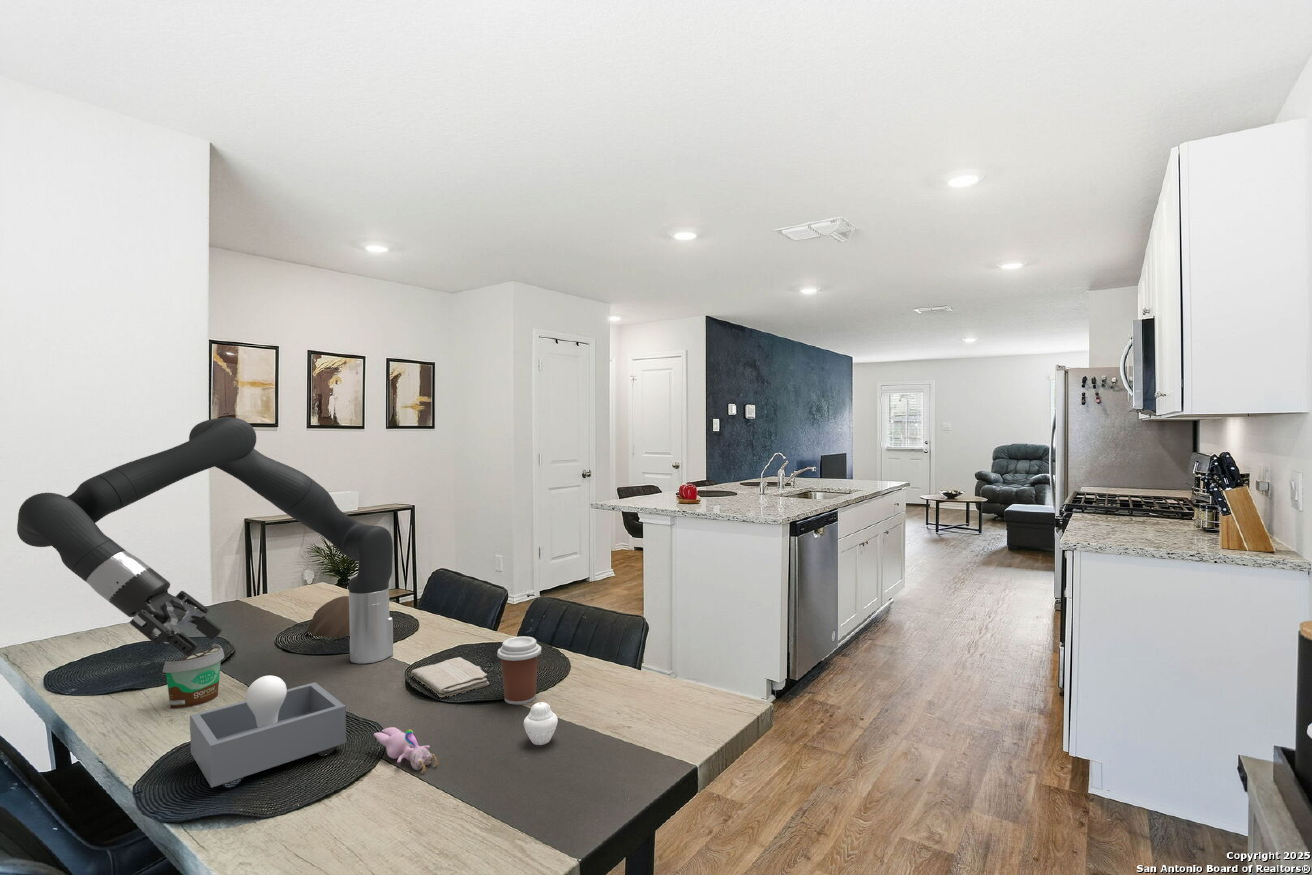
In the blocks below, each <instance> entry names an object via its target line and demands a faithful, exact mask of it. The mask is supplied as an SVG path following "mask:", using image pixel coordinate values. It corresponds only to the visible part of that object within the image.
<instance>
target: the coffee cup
mask: <svg viewBox="0 0 1312 875" xmlns="http://www.w3.org/2000/svg"><path fill="white" fill-rule="evenodd" d="M501 645H502V646H501V647H500V648H498V649H497V654H496V656H497V657H498V658H499V659H500V665H501V673H502V674H501V675H502V683H503V694H504V695H503V696H504V701H505V703H506V704H510V705H525V704H529V703H531V702H533V701H535V699H536V696H537V692H536V691H537V680H538V679H537V678H538V664H539V663H538V660H539V655H541V654H542V646H541V645H540V644H538V643H537V639H536V638H534V637H532V636H524V635H523V636H515V637H510V638H507V639H505V640H504V641H503V642H502V644H501Z"/></svg>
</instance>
